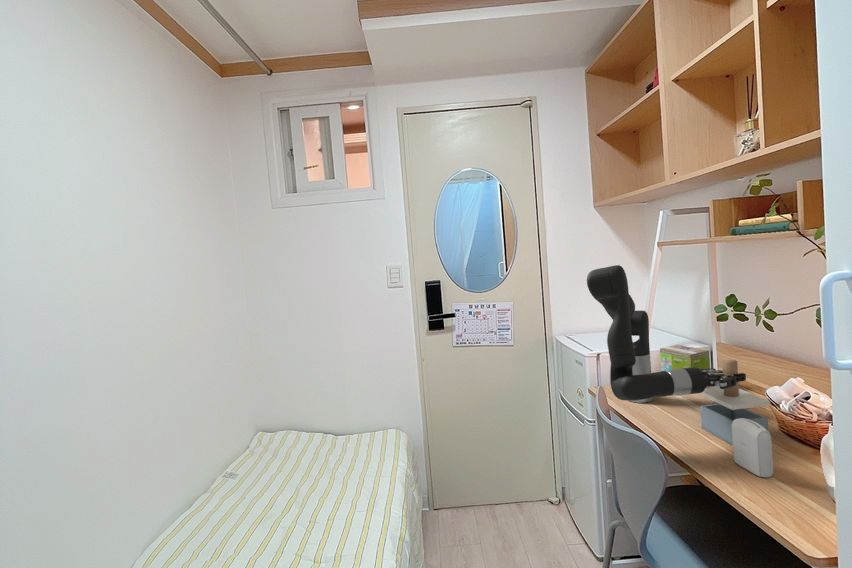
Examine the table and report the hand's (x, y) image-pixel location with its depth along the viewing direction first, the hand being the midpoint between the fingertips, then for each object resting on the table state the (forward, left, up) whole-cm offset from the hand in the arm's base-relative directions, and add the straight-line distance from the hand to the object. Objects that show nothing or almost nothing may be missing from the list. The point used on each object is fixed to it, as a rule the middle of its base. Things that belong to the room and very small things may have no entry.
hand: (739, 374), depth 144 cm
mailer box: (0, -3, -18) cm, 18 cm away
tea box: (-49, +13, -18) cm, 54 cm away
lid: (0, -3, -7) cm, 7 cm away
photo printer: (+21, -12, -18) cm, 30 cm away
